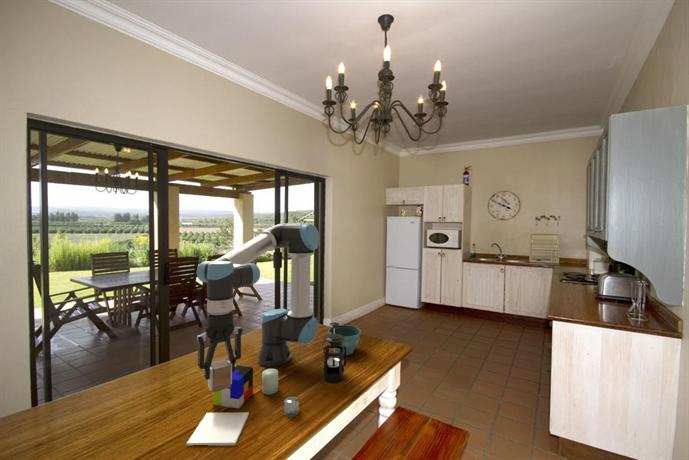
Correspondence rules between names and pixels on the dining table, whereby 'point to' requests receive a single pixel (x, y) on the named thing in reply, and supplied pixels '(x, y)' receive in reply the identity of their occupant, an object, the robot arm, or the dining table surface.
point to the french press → (334, 363)
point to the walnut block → (221, 375)
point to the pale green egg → (269, 381)
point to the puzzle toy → (236, 388)
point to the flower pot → (347, 337)
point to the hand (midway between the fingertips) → (219, 385)
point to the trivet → (219, 429)
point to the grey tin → (291, 406)
